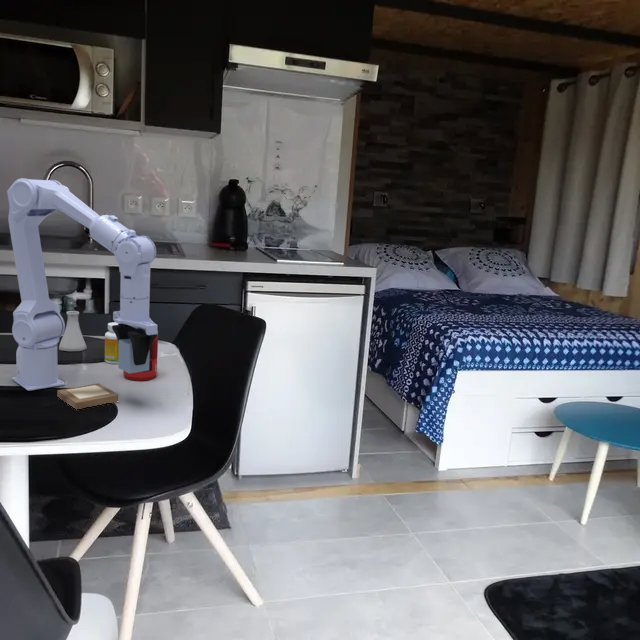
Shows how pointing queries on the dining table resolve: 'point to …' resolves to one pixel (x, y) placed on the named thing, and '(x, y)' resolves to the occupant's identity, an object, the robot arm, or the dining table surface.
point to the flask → (72, 334)
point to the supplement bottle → (111, 345)
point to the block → (130, 358)
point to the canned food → (152, 365)
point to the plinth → (87, 396)
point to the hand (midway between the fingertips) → (133, 361)
